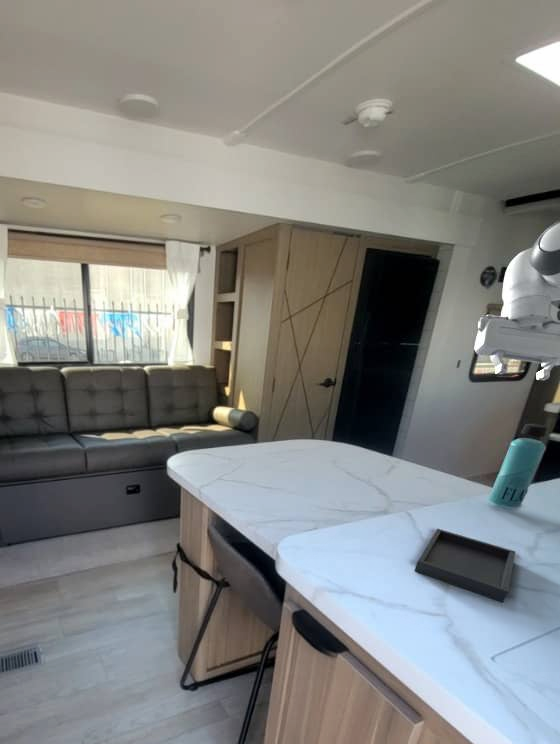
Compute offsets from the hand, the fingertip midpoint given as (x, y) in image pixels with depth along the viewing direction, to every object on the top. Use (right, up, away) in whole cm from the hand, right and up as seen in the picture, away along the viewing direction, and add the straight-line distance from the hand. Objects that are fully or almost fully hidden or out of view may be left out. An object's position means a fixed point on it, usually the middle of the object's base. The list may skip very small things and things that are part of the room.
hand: (522, 375), depth 92 cm
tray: (-27, -41, -20) cm, 53 cm away
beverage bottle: (-1, -30, +5) cm, 31 cm away
